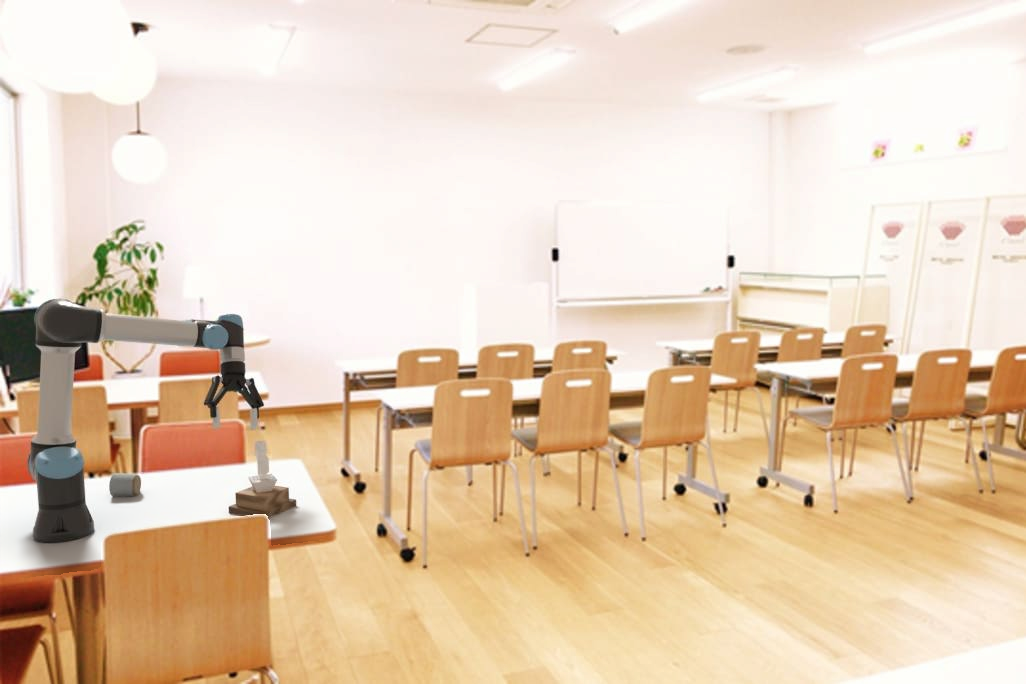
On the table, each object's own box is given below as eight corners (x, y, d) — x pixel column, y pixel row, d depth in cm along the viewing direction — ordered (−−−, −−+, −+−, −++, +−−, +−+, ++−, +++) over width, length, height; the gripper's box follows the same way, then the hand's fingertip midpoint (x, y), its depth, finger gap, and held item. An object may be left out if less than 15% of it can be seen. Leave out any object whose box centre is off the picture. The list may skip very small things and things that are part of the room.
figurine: (254, 495, 254) (252, 446, 252) (247, 487, 262) (245, 439, 261) (278, 492, 258) (277, 443, 256) (271, 484, 266) (269, 437, 264)
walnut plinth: (265, 519, 251) (264, 499, 251) (228, 513, 257) (228, 493, 256) (296, 505, 264) (295, 487, 263) (260, 499, 270) (260, 481, 269)
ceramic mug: (135, 498, 271) (134, 475, 270) (109, 499, 270) (108, 476, 269) (145, 489, 281) (144, 467, 280) (121, 490, 280) (119, 468, 279)
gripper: (258, 367, 284) (262, 431, 280) (190, 361, 265) (192, 430, 260) (272, 363, 280) (276, 427, 275) (204, 356, 260) (207, 425, 256)
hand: (235, 428), depth 268 cm, fingers open, 13 cm apart
